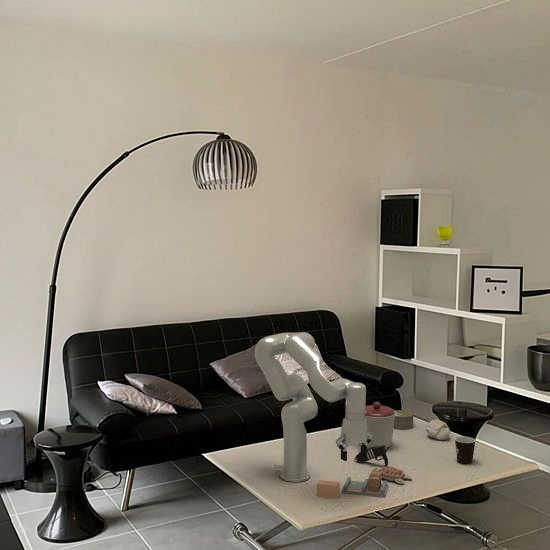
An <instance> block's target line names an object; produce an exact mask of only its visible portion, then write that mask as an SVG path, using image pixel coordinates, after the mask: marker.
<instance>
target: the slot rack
mask: <svg viewBox="0 0 550 550" xmlns="http://www.w3.org/2000/svg"><path fill="white" fill-rule="evenodd" d="M382 481H383V483H381V486H380V489H379V492H373V491H368V478H365V479H364V481H360V480H359V481H358V480H352V477H351V476H348V477H347V478H346V480H345V482H344V484H343V486H342V489H341V491H340V492H341V494H348V495H349V494H350V495H359V496H365V497H366V496H369V497H376V498H377V497H378V498H386V496H387V494H388V490H389V487H390V485H389V484H388V480H382Z"/></svg>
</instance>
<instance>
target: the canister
mask: <svg viewBox="0 0 550 550" xmlns="http://www.w3.org/2000/svg"><path fill="white" fill-rule="evenodd" d="M381 404H382V403H381V402H379V401H374V402H373V404H372V405H371V404H370V405H365V410H366V411H367V413H366V414H365V418H366V422H367V432H369V433H371V434H373V436H372V438H371V441H370V443H369V446H368V447H373V446H382V445H385V446H386V448H387V449H389V447H391V445H392V441H393V434H394V430H395V429H394V420H395V415H396V414H397V412H396V410H394V409H393V408H392V407H389V406H385V405H381ZM367 436H368V435H367ZM368 447H367V448H368Z"/></svg>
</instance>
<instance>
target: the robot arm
mask: <svg viewBox="0 0 550 550" xmlns="http://www.w3.org/2000/svg"><path fill="white" fill-rule="evenodd" d="M315 346H316V341H315V338H314V337H313V336H312V335H311V334H310V333H309V332H303V331H301V332H281V333H275V334H272V335H267V336H265V337H263V338H261V339H260V340H258V342H257V344H256V345H255V348H254V358H255V361H256V364H257V365H258V366H259V368H260V370H261V371H262V373H263V375H264V377H265V379H266V381H267V383H268V385H269V387H270V388H271V391H272V393H273V395H274V397H275V398H276V400H278V401H281V402H284V401H288V400H291V399H292V401H290V402H289V401H288V403H286V404H285V405H284V406H283V407H282V409H281V413H280V416H281V417H280V418H281V422H282V428H283V430H282V431H283V434H282V435H283V464H274V465H273V469H274V470H275V472H280V473H279V477H280V478H281V480H282V481H285V482H289V483H290V482H292V483H299V482H300V483H301V482H305V481H308V480H309V479H310V478H311V472H310V471H308V467H307V465H308V463H307V462H308V459H307V458H308V453H307V452H308V448H307V447H308V445H307V444H308V438H307V435H308V434H307V430H306V428H305V422H307V421H310V420H312V419H314V418H316V417H317V414H318V411H319V410H318V409H319V407H318V404H317V401H316V399H315V398H314V395H313V393H312V392H311V389H310V388H309V385H308V384H307V382H306V380H305V379H304V378H303V377H302V376H301V375H299V374H296V373H291V374H288V373H287V372H286V370H285V368H284V366H283V364H282V362H280V361H279V360H278V359H276V356H279V355H283V354H286V353H287V354H288V355H289V356H290V357H291V358H292V359H293V360H294V361H295V362H296V363H297V364H298V365H299V366H300V367H301V368H302V369H303V370H304V371H305V372H306V375H307V378H308V382H309V384H310V386H311V388H312V389H313V390H314V391H315V393H317V394H318V396H320V397H321V399H323V400H324V401H327V402H328V403H335V402H337V401H340V400H343V399H345V415H344V416H345V417H344V418H343V419H342V423H341V429H340V430H341V431H340V436H339V437H338V438H337V439H335V444H336V447H338V449H339V451H340V460H342V461H344V462H347V461H348V451H347V450H348V448H349V447H350V446H357V445H360V451H359V452H360V454H361V455H362V456H364V457H367V447H368V446H369V443H370V441H371V438H372V436H373V434H371V433H369V432H367V422H366V418H365V414H366V413H367V411H366V410H365V406H366V397H367V396H366V395H367V387H366V385H365V384H364V383H362V382H355V381H352V380H350V379H347V378H338V379H335V380H332V381H330V380H328V378H326V377H325V375H324V374H323V373H322V370H321V365H322V363H323V357H322V356H321V354H319V353H318V352H317V351H316V350H315V349H314V348H315ZM367 435H368V436H367Z"/></svg>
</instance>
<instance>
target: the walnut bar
mask: <svg viewBox="0 0 550 550" xmlns="http://www.w3.org/2000/svg"><path fill="white" fill-rule="evenodd" d="M367 479H368V491H373V492H379V489H380V486H381V484H382V483H381V480H382V478H381V472H374V471H373V470H371V471H370V473H369V476H368V477H367Z"/></svg>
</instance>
